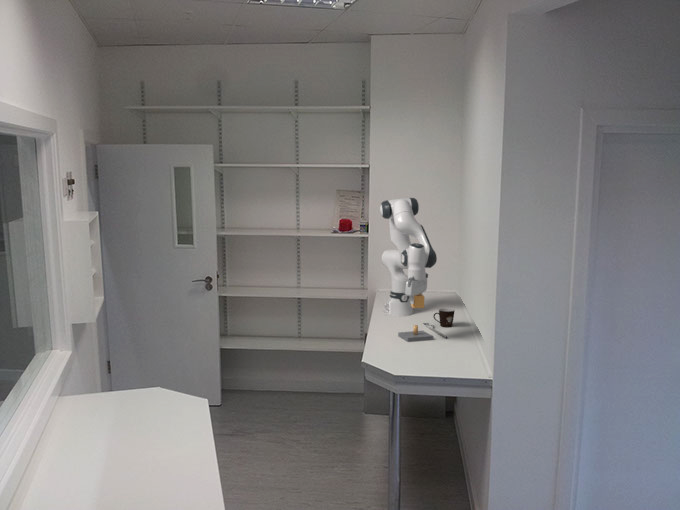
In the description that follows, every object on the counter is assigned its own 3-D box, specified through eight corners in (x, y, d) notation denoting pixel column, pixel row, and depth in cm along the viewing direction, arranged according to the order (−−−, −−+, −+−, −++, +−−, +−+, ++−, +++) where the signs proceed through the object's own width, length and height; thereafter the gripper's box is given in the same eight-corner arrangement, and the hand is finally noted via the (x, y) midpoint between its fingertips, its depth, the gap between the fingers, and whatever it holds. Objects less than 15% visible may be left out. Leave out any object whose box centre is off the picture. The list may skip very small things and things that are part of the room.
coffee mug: (453, 326, 329) (453, 308, 328) (454, 329, 321) (455, 311, 320) (432, 325, 330) (432, 308, 329) (433, 329, 322) (433, 311, 321)
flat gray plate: (398, 336, 305) (398, 323, 305) (422, 334, 310) (422, 322, 309) (407, 341, 294) (408, 329, 293) (433, 339, 298) (433, 327, 298)
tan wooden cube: (411, 305, 302) (411, 294, 302) (421, 306, 303) (422, 294, 302) (413, 308, 297) (413, 296, 296) (424, 308, 297) (424, 296, 297)
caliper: (429, 327, 330) (421, 325, 328) (430, 323, 330) (423, 321, 328) (452, 341, 302) (444, 339, 300) (454, 337, 301) (445, 334, 300)
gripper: (414, 278, 288) (413, 306, 289) (429, 274, 305) (428, 300, 307) (402, 277, 291) (401, 305, 292) (418, 273, 309) (417, 299, 310)
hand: (415, 302), depth 300 cm, fingers closed on tan wooden cube, 7 cm apart
